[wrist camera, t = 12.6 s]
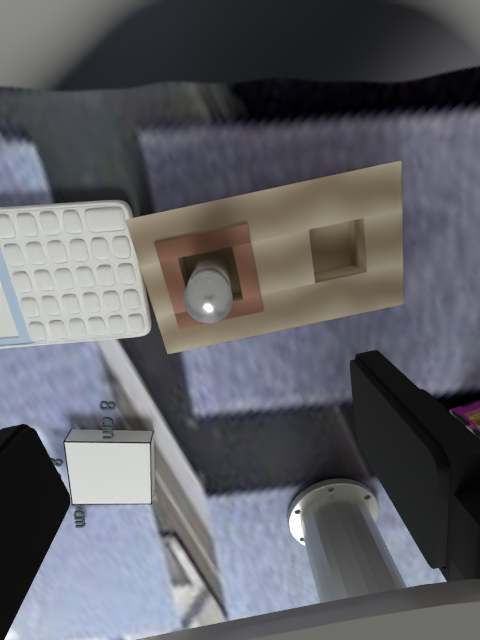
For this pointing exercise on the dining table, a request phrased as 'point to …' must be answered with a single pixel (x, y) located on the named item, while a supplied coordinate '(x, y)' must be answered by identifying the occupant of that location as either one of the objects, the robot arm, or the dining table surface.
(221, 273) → the pin
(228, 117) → the dining table surface
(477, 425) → the candy bar box
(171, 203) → the dining table surface
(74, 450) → the container
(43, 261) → the calculator
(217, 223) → the block
